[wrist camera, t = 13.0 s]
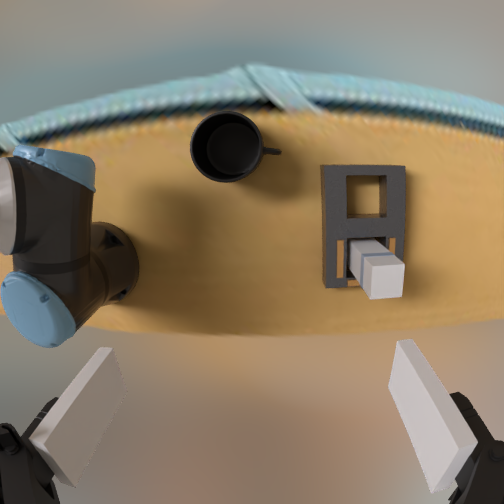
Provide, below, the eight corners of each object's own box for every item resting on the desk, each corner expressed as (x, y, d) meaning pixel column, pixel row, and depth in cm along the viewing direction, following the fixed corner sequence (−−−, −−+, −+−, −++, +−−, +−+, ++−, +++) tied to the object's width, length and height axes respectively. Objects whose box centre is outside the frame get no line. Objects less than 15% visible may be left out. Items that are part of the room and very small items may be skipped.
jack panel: (322, 280, 53) (326, 289, 49) (320, 165, 48) (324, 165, 44) (393, 275, 52) (401, 283, 48) (396, 165, 47) (406, 165, 43)
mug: (277, 183, 49) (278, 188, 40) (201, 176, 49) (186, 179, 41) (283, 124, 46) (286, 116, 38) (206, 117, 47) (193, 109, 38)
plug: (346, 265, 52) (369, 300, 39) (346, 238, 51) (372, 265, 37) (372, 263, 52) (402, 297, 38) (373, 237, 50) (405, 263, 37)
